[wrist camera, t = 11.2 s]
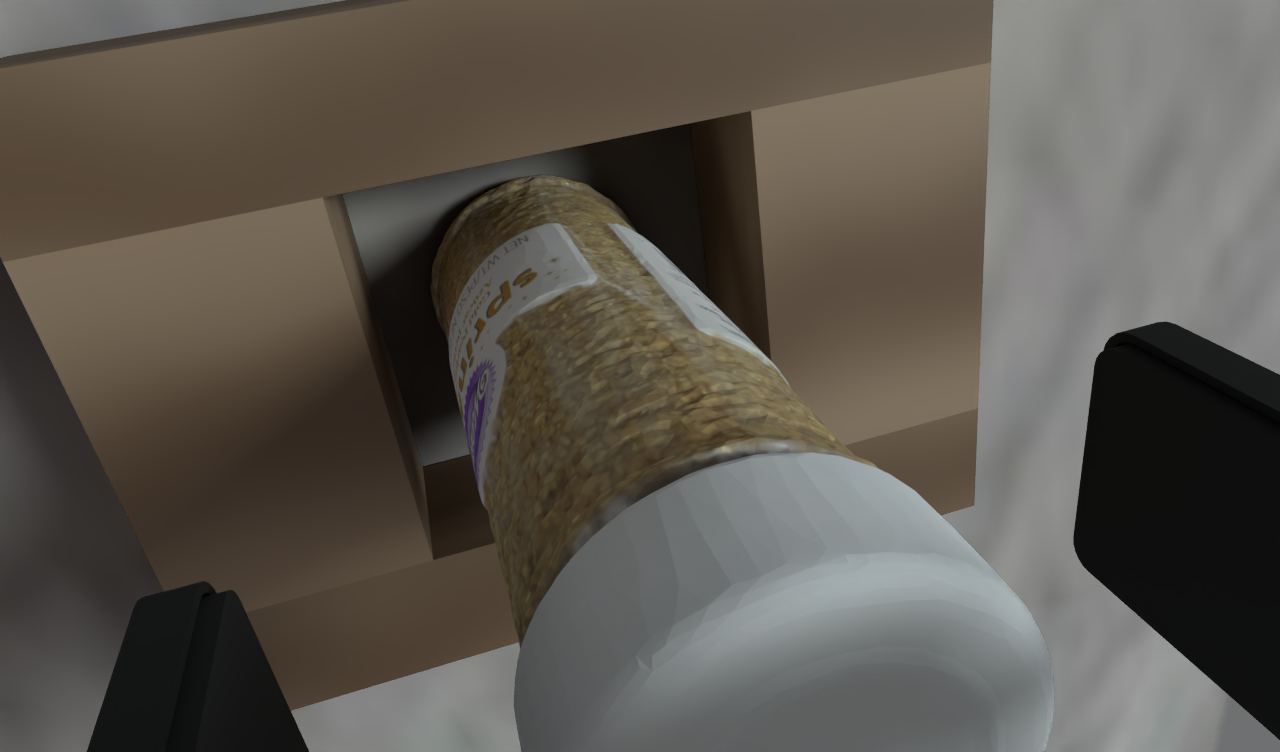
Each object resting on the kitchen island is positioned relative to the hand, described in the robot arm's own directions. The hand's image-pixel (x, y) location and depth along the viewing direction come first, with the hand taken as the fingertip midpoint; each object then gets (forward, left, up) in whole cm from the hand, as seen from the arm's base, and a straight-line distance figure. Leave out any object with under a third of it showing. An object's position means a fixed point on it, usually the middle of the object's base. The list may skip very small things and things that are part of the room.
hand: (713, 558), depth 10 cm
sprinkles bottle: (0, 0, -11) cm, 11 cm away
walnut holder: (+1, 0, -11) cm, 11 cm away
